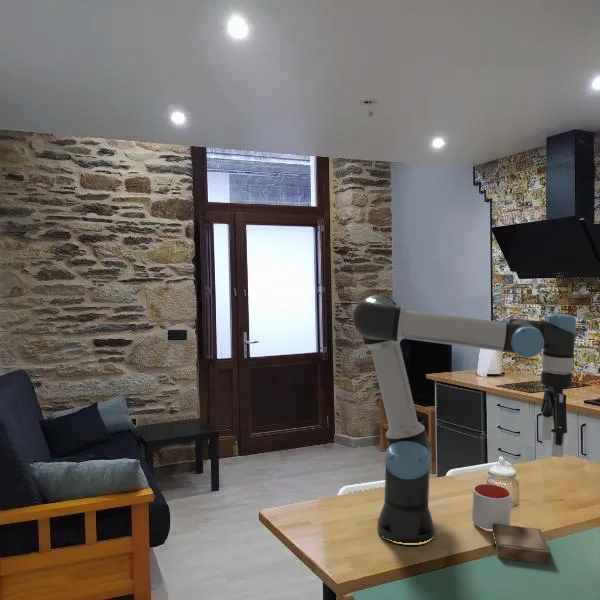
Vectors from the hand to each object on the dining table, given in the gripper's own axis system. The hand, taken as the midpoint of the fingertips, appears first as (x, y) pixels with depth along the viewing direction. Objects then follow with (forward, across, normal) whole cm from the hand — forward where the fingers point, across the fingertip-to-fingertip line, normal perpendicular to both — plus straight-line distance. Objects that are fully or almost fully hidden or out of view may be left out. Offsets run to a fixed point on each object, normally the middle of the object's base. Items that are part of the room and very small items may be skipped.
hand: (551, 447), depth 152 cm
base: (+23, -13, +9) cm, 28 cm away
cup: (+24, -2, +14) cm, 28 cm away
